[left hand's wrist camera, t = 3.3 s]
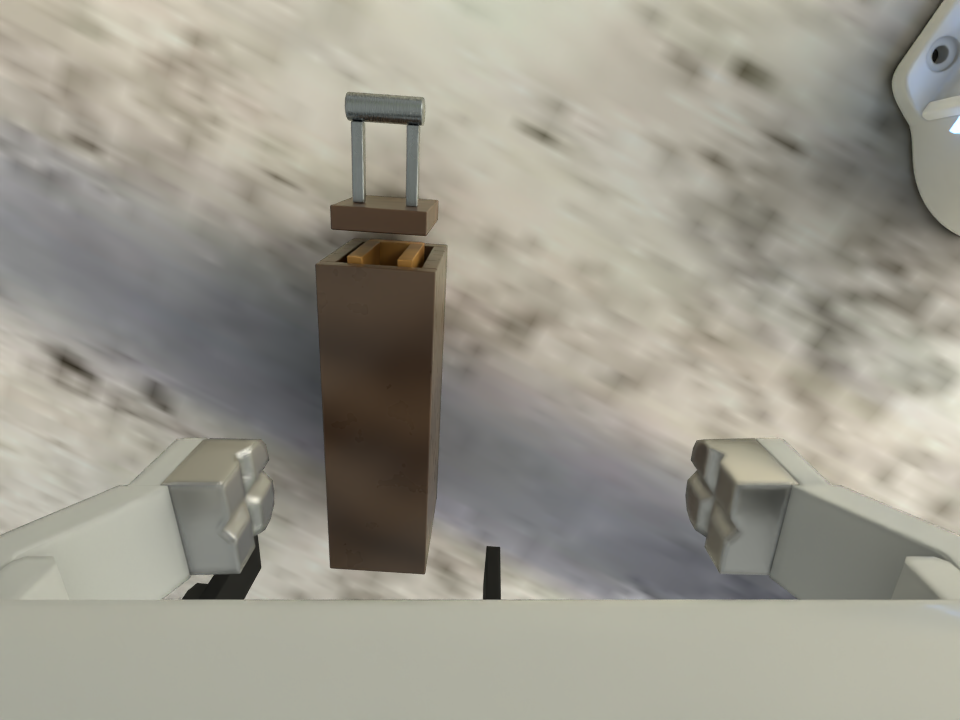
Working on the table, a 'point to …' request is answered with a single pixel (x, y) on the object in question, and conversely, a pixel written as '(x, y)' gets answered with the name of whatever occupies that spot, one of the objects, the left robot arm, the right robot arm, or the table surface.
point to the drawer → (381, 210)
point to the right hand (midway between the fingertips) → (372, 556)
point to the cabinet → (381, 406)
